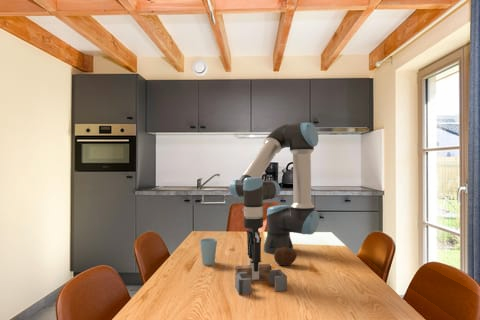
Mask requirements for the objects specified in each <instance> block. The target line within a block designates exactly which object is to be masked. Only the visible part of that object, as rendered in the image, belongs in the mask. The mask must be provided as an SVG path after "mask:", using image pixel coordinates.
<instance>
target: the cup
mask: <svg viewBox="0 0 480 320" xmlns="http://www.w3.org/2000/svg"><path fill="white" fill-rule="evenodd" d="M217 244H218V239H216V238H212V237H210V238H209V237H208V238H203V239H202V238H201V239H200V240H199V245H200V253H201V254H200V255H201V262H202V265H204V266H212V265H215V262H216V253H217Z"/></svg>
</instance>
